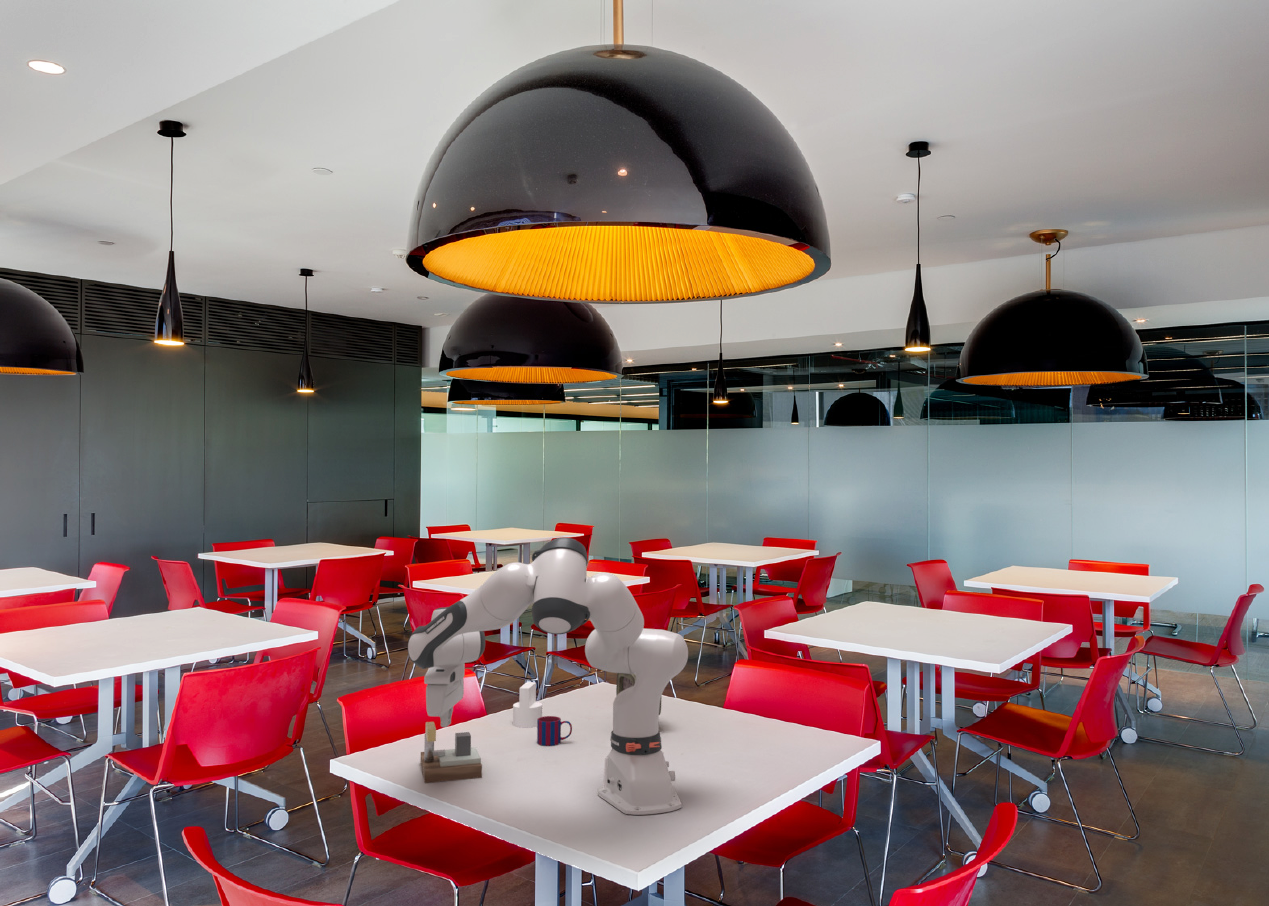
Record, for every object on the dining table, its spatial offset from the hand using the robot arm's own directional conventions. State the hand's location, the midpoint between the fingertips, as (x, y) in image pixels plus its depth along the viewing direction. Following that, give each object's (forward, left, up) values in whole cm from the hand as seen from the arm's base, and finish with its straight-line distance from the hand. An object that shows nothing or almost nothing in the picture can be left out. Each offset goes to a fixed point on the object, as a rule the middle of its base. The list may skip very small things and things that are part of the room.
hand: (445, 725), depth 214 cm
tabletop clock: (+28, -61, -13) cm, 68 cm away
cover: (+4, -4, -10) cm, 11 cm away
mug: (+21, -33, -13) cm, 41 cm away
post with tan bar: (+1, +2, -10) cm, 10 cm away
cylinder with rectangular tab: (+44, -29, -13) cm, 54 cm away
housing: (+5, -2, -13) cm, 14 cm away
